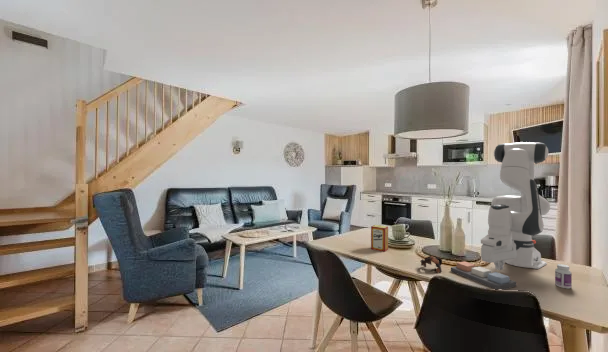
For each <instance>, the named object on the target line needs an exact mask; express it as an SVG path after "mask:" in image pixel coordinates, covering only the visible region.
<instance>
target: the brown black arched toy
mask: <svg viewBox="0 0 608 352" xmlns="http://www.w3.org/2000/svg"><path fill="white" fill-rule="evenodd" d="M432 262H433V263H434V264H435V267H436V268H435V271H436V273H437V274H438V273H441V272H442V264H443V259H442V258H441V257H440V256H439V257H434V256H433V255H430V256H426V257H424V259H421V260H420V263H421V264H420V266H421V267H422V266H423V267H424V268H425V267H427V264H428V265H430V266H431V265H432V264H433V263H432Z"/></svg>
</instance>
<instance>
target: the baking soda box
mask: <svg viewBox="0 0 608 352" xmlns="http://www.w3.org/2000/svg"><path fill="white" fill-rule="evenodd" d="M370 249H371V250H373V251H379V252H387V251H388V250H389V226H388V225H381V224H374V225H372V226H371V225H370Z"/></svg>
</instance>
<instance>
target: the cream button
mask: <svg viewBox="0 0 608 352" xmlns="http://www.w3.org/2000/svg"><path fill="white" fill-rule="evenodd" d="M472 273H473V274H475V275H478V276H481V277H483V278H484V277H488V274H489V273H492V269H488V268H485V267H483V266H475V267H474V268H472Z"/></svg>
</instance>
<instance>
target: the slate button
mask: <svg viewBox="0 0 608 352" xmlns="http://www.w3.org/2000/svg"><path fill="white" fill-rule="evenodd" d="M488 279H489V280H491V281H494V282H497V283H499V284H505V283H509V279H510V275H509V276H508V275H506V274H503V273H501V272H497V271H495V272H491V273H489V274H488ZM510 280H511V279H510Z"/></svg>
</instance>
